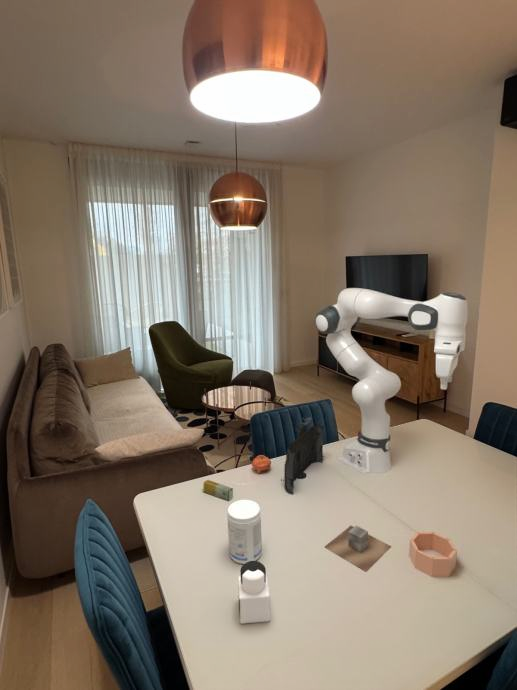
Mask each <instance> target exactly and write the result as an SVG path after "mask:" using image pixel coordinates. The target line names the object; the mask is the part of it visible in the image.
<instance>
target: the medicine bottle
mask: <svg viewBox="0 0 517 690" xmlns="http://www.w3.org/2000/svg"><path fill="white" fill-rule="evenodd" d="M237 581H238V582H237V583H238V584H237V585H238V587H237V588H238V613H239V614H238V615H239V624H241V625H242V624H252V623H253V624H255V623H265V622H270V620H271V609H270V608H271V607H270V605H271V604H270V603H271V601H270V599H271V597H270V589H269V582H268V575H267V569H266V566H265V565H264V564H263V563H262V562H260V561H257V560H256V561H249V562H247V563H245V564H243V565H241V568H240V575H238V577H237Z"/></svg>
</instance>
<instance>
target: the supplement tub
mask: <svg viewBox="0 0 517 690" xmlns="http://www.w3.org/2000/svg"><path fill="white" fill-rule="evenodd" d="M226 515H227V533H228V536H227V537H228V552H229V556H230V558H231V560H233V561H234V562H236V563H237V564H243V565H244V564H245V563H247V562H249V561H257V560H258V559H259V558H260V557H261V555H262V551H263V550H262V549H263V543H262V519H261V518H262V515H261V508H260V505H259V504H258V503H257V502H256V501H254V500H250V499H239V500H237V501H233V502H232V503H230V505H229V506H228V507H227V514H226Z"/></svg>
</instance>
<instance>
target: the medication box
mask: <svg viewBox="0 0 517 690" xmlns="http://www.w3.org/2000/svg"><path fill="white" fill-rule="evenodd" d="M202 490H203V493H206V494H208V495H210V496H214V497H217V498H219V499H221V500H224V501H227V502H230V501H232V499H233V496H234V488H232V487H230V486H227V485H224V484H222V483H219V482H215V481H213V480H210V479H207V480H204V481H203V489H202Z"/></svg>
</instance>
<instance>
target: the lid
mask: <svg viewBox="0 0 517 690" xmlns="http://www.w3.org/2000/svg"><path fill="white" fill-rule="evenodd" d="M324 548H325V549H326V550H327V551H330V552H331V553H333V554H334V555H336V556H338V557H340V558H341V559H342V560H345V561H346V562H348V563H350V564H352V565H353V566H355V567H356V568H358V569H360V570H362V571H364V572H365V573H367V572H368V571H369V570H370V569H371V567H373V565H375V564H376V563H377V562H379V560H380V559H381V558H382V557H383V556H384V555H385V554H386V553H387V552H388V551H389V550H390V549H391V548H392V545H390V544H388V543H386V542H384V541H383V540H380V539H378V538H376V537H374V536H372V534H371V535H370V534H369V531H368V530H366V529H364V528H362V527H361V526H359V525H349V526H348V527H347V528H346V529H344V530H343V531H341V532H340V534H338V535H337V536H336V537H334V538H333V539H332V540H331V541H330V542H327V544H326V545H325V546H324Z"/></svg>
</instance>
